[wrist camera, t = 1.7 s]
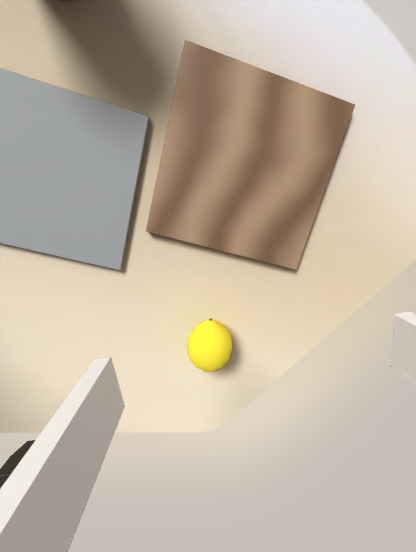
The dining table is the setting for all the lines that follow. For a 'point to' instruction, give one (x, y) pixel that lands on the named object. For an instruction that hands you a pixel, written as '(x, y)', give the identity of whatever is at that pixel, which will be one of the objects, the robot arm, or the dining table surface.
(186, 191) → the walnut board
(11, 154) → the slate grey mat
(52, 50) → the dining table surface
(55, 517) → the robot arm
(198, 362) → the lemon
